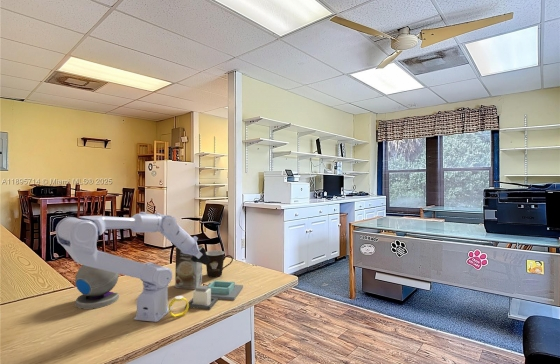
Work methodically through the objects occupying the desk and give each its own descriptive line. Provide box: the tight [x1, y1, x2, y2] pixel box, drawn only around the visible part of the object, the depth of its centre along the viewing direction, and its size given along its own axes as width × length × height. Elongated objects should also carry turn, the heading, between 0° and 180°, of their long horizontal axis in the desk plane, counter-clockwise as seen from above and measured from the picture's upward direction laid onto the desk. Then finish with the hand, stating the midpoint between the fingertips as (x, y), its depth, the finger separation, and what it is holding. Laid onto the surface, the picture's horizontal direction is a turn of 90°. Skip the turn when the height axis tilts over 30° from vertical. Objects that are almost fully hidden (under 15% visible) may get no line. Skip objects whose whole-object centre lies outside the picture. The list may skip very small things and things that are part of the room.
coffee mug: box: [205, 249, 234, 278], centre depth 132 cm, size 12×9×10 cm
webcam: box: [74, 265, 120, 310], centre depth 104 cm, size 13×13×15 cm
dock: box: [206, 280, 244, 301], centre depth 113 cm, size 12×14×3 cm
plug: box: [192, 285, 212, 305], centre depth 103 cm, size 4×5×6 cm
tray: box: [185, 297, 219, 310], centre depth 103 cm, size 7×9×1 cm
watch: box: [168, 295, 190, 318], centre depth 94 cm, size 6×3×6 cm, turn 121°
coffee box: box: [174, 244, 203, 290], centre depth 119 cm, size 9×6×16 cm
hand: (202, 258), depth 111 cm, fingers open, 7 cm apart
